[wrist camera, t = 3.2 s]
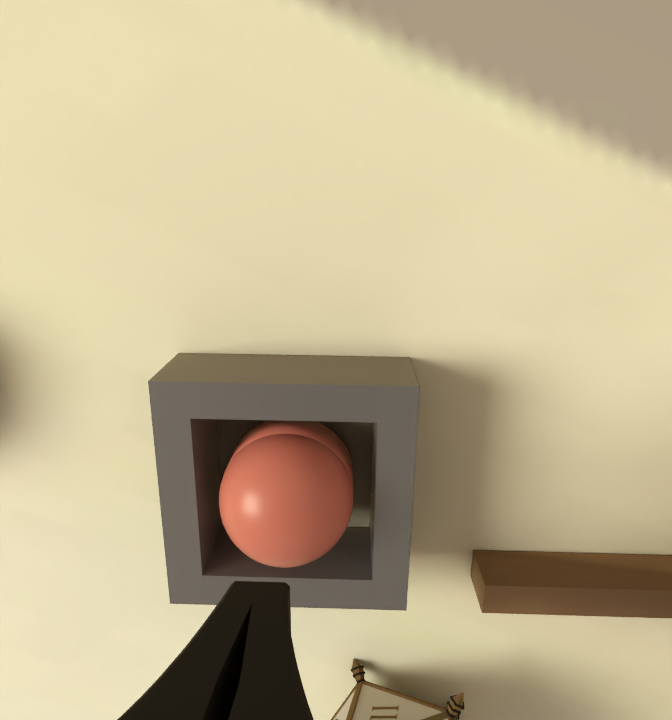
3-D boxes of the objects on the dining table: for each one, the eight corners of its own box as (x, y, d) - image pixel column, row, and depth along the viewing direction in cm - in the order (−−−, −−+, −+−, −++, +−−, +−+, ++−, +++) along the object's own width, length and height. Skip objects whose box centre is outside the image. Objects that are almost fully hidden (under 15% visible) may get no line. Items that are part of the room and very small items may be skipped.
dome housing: (399, 554, 22) (406, 610, 19) (194, 549, 22) (170, 603, 19) (409, 357, 19) (419, 386, 16) (178, 353, 19) (148, 381, 16)
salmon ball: (352, 517, 21) (352, 601, 16) (237, 514, 21) (207, 596, 17) (354, 410, 19) (354, 471, 15) (231, 408, 19) (198, 467, 15)
